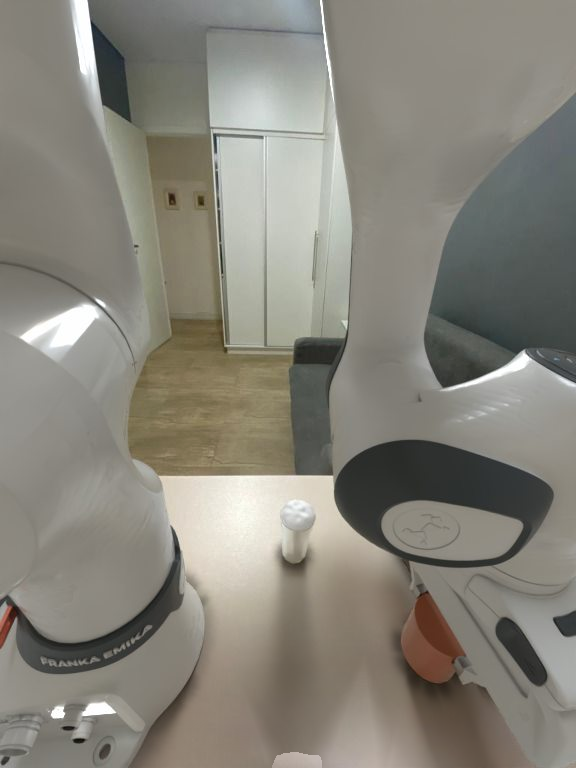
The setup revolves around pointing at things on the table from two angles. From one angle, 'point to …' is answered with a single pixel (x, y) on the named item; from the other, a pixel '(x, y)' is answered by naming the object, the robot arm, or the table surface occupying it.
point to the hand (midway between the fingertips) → (439, 629)
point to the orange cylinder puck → (430, 642)
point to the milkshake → (296, 529)
